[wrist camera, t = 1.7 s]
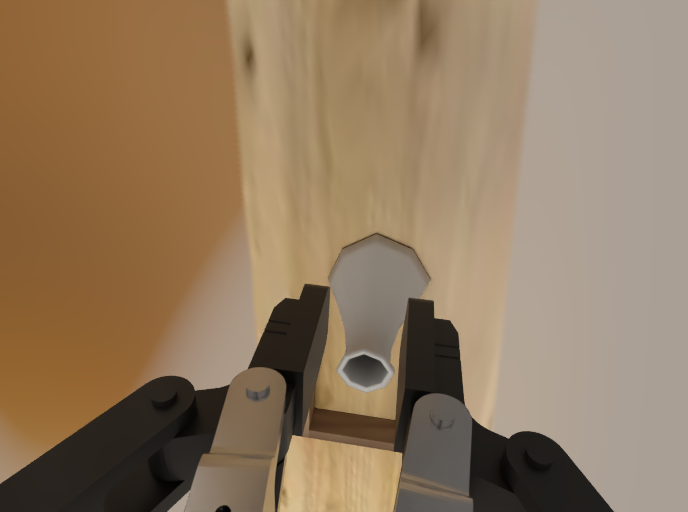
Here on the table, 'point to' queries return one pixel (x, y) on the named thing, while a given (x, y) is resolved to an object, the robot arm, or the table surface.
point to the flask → (373, 306)
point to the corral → (349, 428)
